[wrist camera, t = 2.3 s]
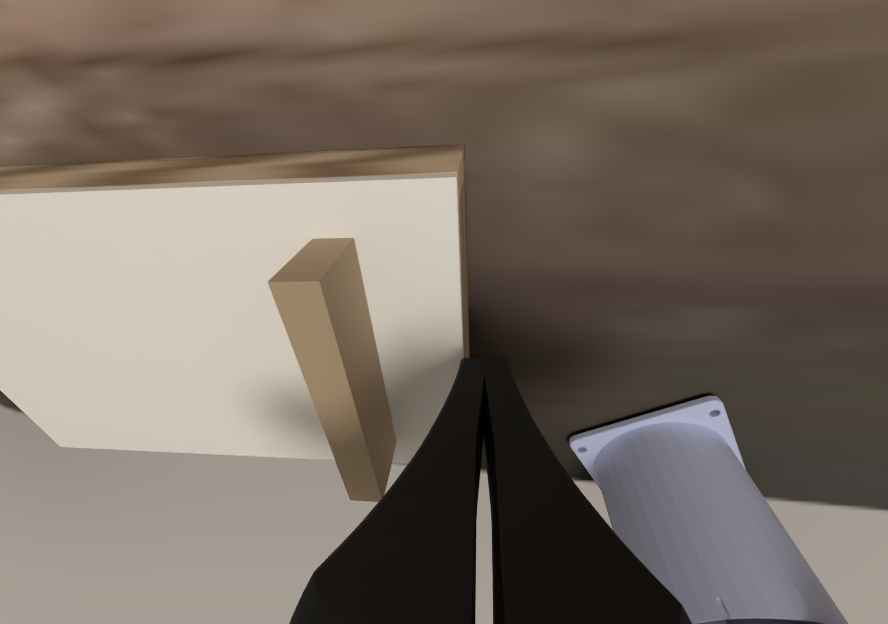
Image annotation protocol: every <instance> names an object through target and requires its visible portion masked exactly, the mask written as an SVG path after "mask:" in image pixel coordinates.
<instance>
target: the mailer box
mask: <svg viewBox="0 0 888 624" xmlns="http://www.w3.org/2000/svg"><path fill="white" fill-rule="evenodd" d="M434 173H458V196H459V226H460V256H461V286H462V315H463V345H464V358H469V312H468V266H467V221H466V175H465V144H462V145H441V146H420V147H399V148H379V149H358V150H337V151H316V152H295V153H274V154H253V155H233V156H212V157H191V158H170V159H149V160H128V161H107V162H87V163H66V164H45V165H24V166H3V167H0V191H4V190H29V189H55V188H80V187H105V186H131V185H156V184H181V183H206V182H232V181H257V180H282V179H308V178H333V177H358V176H383V175H409V174H434Z"/></svg>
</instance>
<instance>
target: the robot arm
mask: <svg viewBox="0 0 888 624" xmlns="http://www.w3.org/2000/svg"><path fill="white" fill-rule="evenodd" d="M483 437H484V444H485V454H486V464H487V474H488V484H489V494H490V504H491V519H492V565H493V624H848V623H847V621H846V620H845V618H844V617H843V615H842V614H841V612H840V611H839V609H838V608H837V606H836V605H835V603H834V602H833V600H832V599H831V597H830V596H829V594H828V593H827V591H826V590H825V588H824V587H823V585H822V584H821V582H820V581H819V579H818V578H817V577H816V575H815V573H814V572H813V570H812V569H811V567H810V566H809V564H808V563H807V561H806V560H805V559H804V557H803V555H802V554H801V552H800V551H799V549H798V548H797V546H796V545H795V543H794V542H793V540H792V539H791V538H790V536H789V535H788V533H787V531H786V530H785V528H784V527H783V526H782V524H781V522H780V521H779V519H778V518H777V516H776V515H775V513H774V512H773V510H772V509H771V508H770V506H769V505H768V503H767V501H766V500H765V498H764V497H763V495H762V494H761V492H760V491H759V489H758V488H757V486H756V485H755V483H754V482H753V480H752V479H751V478H750V476H749V475H748V473H747V472H746V469H745V466H744V463H743V461H742V458H741V455H740V452H739V449H738V446H737V443H736V440H735V437H734V434H733V431H732V428H731V425H730V423H729V420H728V417H727V414H726V411H725V408H724V405H723V403H722V402H721V400H720V399H719V398H718V397H716V396H706V397H702V398H699V399H696V400H692V401H689V402H685V403H682V404H679V405H675V406H672V407H668V408H665V409H662V410H658V411H655V412H651V413H648V414H645V415H641V416H638V417H634V418H631V419H628V420H624V421H621V422H617V423H614V424H611V425H607V426H604V427H600V428H597V429H594V430H590V431H587V432H583V433H580V434H577V435H574V436H572V437H571V438H570V439H569V443H570V447H571V448H572V450H573V451H574V452H575V454H576V455H577V457H578V458H579V460H580V461H581V462H582V464H583V465H584V467H585V468H586V470H587V471H588V472H589V474H590V475H591V477H592V478H593V479H594V481H595V482H596V484H597V485H598V487H599V488H600V489H601V491H602V494H603V497H604V501H605V504H606V508H607V511H608V514H609V518H610V521H611V525H612V528H613V530H612V529H611V528H610V526H609V525H608V524H607V523H606V522H605V521H604V519H603V518H602V517H601V516H600V515H599V513H598V512H597V511H596V510H595V508H594V507H593V506H592V505H591V503H590V502H589V501H588V500H587V499H586V497H585V496H584V495H583V494H582V492H581V491H580V490H579V488H578V487H577V486H576V485H575V483H574V482H573V480H572V479H571V478H570V476H569V475H568V474H567V472H566V471H565V469H564V468H563V466H562V465H561V464H560V462H559V461H558V459H557V458H556V456H555V455H554V453H553V452H552V450H551V449H550V447H549V446H548V444H547V442H546V441H545V439H544V437H543V436H542V434H541V432H540V431H539V429H538V427H537V426H536V424H535V422H534V420H533V419H532V417H531V415H530V413H529V411H528V409H527V407H526V405H525V403H524V401H523V399H522V397H521V395H520V393H519V391H518V389H517V386H516V384H515V382H514V379H513V377H512V374H511V371H510V368H509V365H508V361H507V360H506V359H505V358H463V359H462V360H461V361H460V366H459V369H458V373H457V375H456V378H455V381H454V383H453V386H452V388H451V390H450V393H449V395H448V397H447V399H446V401H445V403H444V405H443V407H442V409H441V411H440V413H439V415H438V417H437V419H436V420H435V422H434V424H433V426H432V427H431V429H430V431H429V433H428V434H427V436H426V438H425V439H424V441H423V443H422V444H421V446H420V447H419V449H418V450H417V452H416V453H415V455H414V456H413V458H412V459H411V461H410V462H409V464H408V465H407V466H406V468H405V469H404V470H403V472H402V473H401V474H400V476H399V477H398V479H397V480H396V481H395V483H394V484H393V485H392V487H391V488H390V489H389V490H388V492H387V493H386V494H385V495H384V496H383V498H382V499H381V500H380V501H379V502H378V504H377V505H376V506H375V507H374V508H373V509H372V511H371V512H370V513H369V514H368V515H367V517H366V518H365V519H364V520H363V521H362V522H361V523H360V524H359V526H358V527H357V528H356V529H355V530H354V531H353V532H352V533H351V534H350V535H349V536H348V537H347V538H346V539H345V540H344V542H343V543H342V544H341V545H340V546H339V547H338V548H337V549H336V550H335V551H334V552H333V553H332V554H331V555H330V556H329V557H328V558H327V559H326V560H325V561H324V562H323V563H322V564H321V565H320V566H319V567H318V568H317V569H316V570H315V572H314V573H313V575H312V577H311V578H310V580H309V582H308V584H307V586H306V588H305V590H304V592H303V594H302V596H301V598H300V600H299V603H298V605H297V607H296V609H295V612H294V614H293V616H292V618H291V621H290V624H475V594H476V593H475V592H476V518H477V517H476V516H477V502H478V491H479V479H480V470H481V459H482V448H483Z"/></svg>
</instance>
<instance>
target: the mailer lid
mask: <svg viewBox="0 0 888 624" xmlns="http://www.w3.org/2000/svg"><path fill="white" fill-rule="evenodd" d="M463 358H464V345H463V315H462V286H461V256H460V226H459V196H458V173H434V174H409V175H383V176H358V177H333V178H308V179H282V180H257V181H232V182H206V183H181V184H156V185H131V186H105V187H80V188H55V189H29V190H4V191H0V390H1V391H2V392H3V393H4V394H5V395H6V396H7V397H8V398H9V399H10V400H11V401H12V402H14V403H15V404H16V405H17V406H18V407H19V408H20V409H21V410H22V411H23V412H24V413H25V414H26V415H27V416H28V417H29V418H31V419H32V420H33V421H34V422H35V423H36V424H37V425H38V426H39V427H40V428H41V429H42V430H43V431H44V432H45V433H47V434H48V435H49V436H50V437H51V438H52V439H53V440H54V441H55V442H56V443H57V444H58V445H59V446H60V447H76V448H97V449H117V450H137V451H158V452H179V453H199V454H219V455H239V456H260V457H280V458H300V459H322V460H335V461H336V463H337V466H338V469H339V472H340V474H341V477H342V480H343V482H344V485H345V488H346V490H347V493H348V495H349V498H350V500H358V501H374V502H379V501H380V500H381V499H382V498H383V496H384V494H385V489H386V485H387V481H388V477H389V472H390V468H391V464H392V463H402V464H409V462H410V461H411V459H412V458H413V456H414V455H415V453H416V452H417V450H418V449H419V447H420V446H421V444H422V443H423V441H424V439H425V438H426V436H427V434H428V433H429V431H430V429H431V427H432V426H433V424H434V422H435V420H436V419H437V417H438V415H439V413H440V411H441V409H442V407H443V405H444V403H445V401H446V399H447V397H448V395H449V393H450V390H451V388H452V386H453V383H454V381H455V378H456V375H457V373H458V369H459V366H460V361H461V360H462V359H463Z"/></svg>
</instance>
